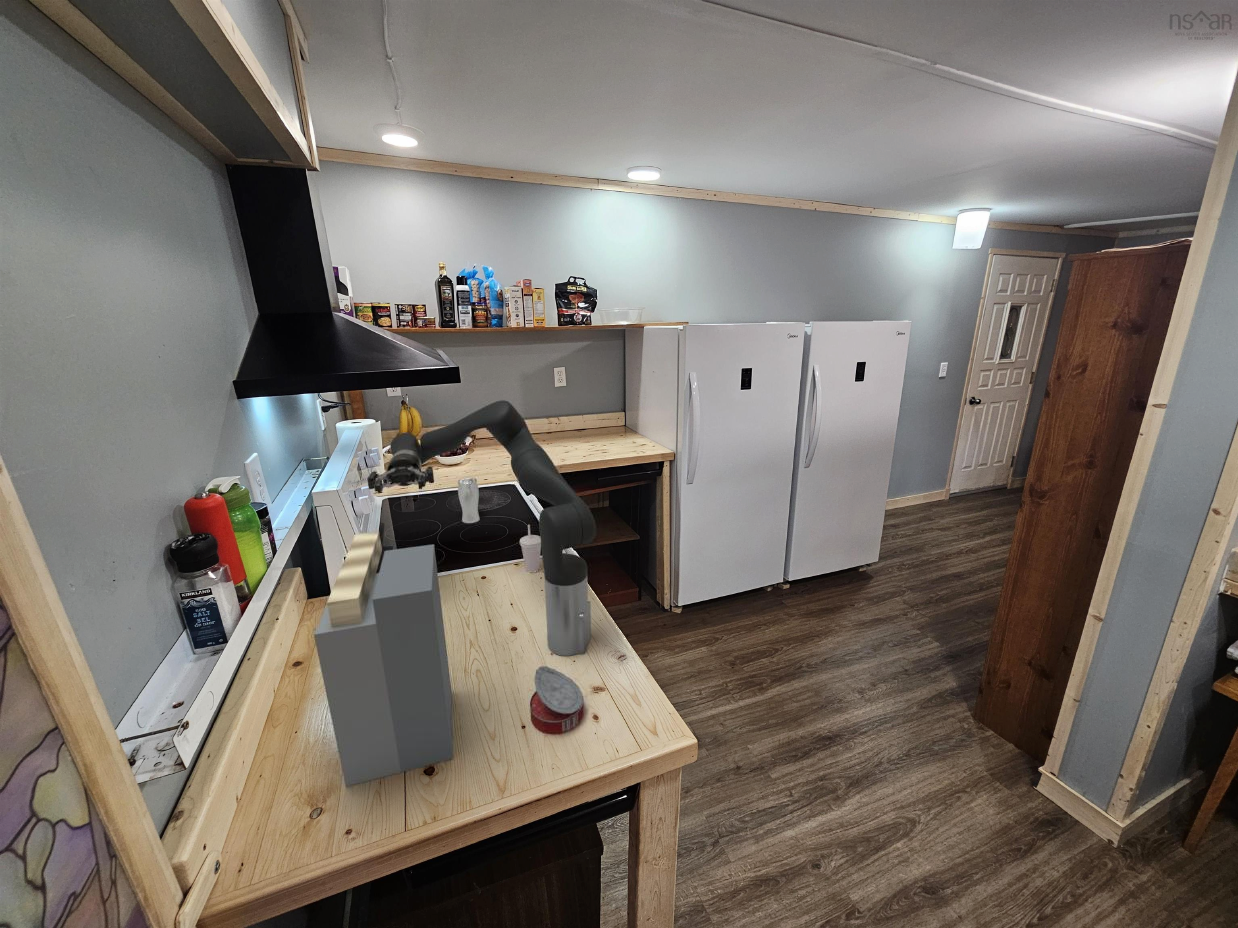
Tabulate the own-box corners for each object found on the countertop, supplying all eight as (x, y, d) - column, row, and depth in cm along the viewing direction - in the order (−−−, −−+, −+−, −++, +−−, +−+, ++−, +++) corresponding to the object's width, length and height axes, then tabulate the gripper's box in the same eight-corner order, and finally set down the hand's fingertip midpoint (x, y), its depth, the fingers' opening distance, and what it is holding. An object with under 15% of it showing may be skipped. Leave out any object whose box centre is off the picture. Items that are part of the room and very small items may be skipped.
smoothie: (533, 562, 147) (531, 519, 143) (548, 569, 143) (546, 524, 139) (516, 570, 143) (513, 526, 139) (531, 577, 139) (528, 532, 135)
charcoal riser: (361, 712, 92) (332, 557, 82) (451, 692, 97) (434, 544, 87) (345, 786, 77) (308, 609, 68) (452, 758, 82) (431, 590, 73)
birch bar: (358, 553, 93) (355, 534, 91) (382, 550, 94) (379, 531, 93) (331, 627, 71) (326, 602, 70) (362, 621, 72) (358, 597, 71)
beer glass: (460, 524, 174) (456, 484, 169) (461, 517, 180) (457, 478, 176) (481, 522, 175) (477, 483, 171) (480, 515, 182) (477, 476, 178)
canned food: (553, 713, 98) (565, 661, 99) (589, 735, 91) (602, 680, 93) (508, 720, 89) (523, 664, 91) (545, 745, 83) (559, 684, 84)
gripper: (372, 455, 122) (362, 474, 107) (433, 450, 126) (431, 468, 112) (376, 484, 124) (367, 506, 109) (436, 478, 129) (435, 499, 114)
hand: (399, 487), depth 111 cm, fingers open, 8 cm apart
